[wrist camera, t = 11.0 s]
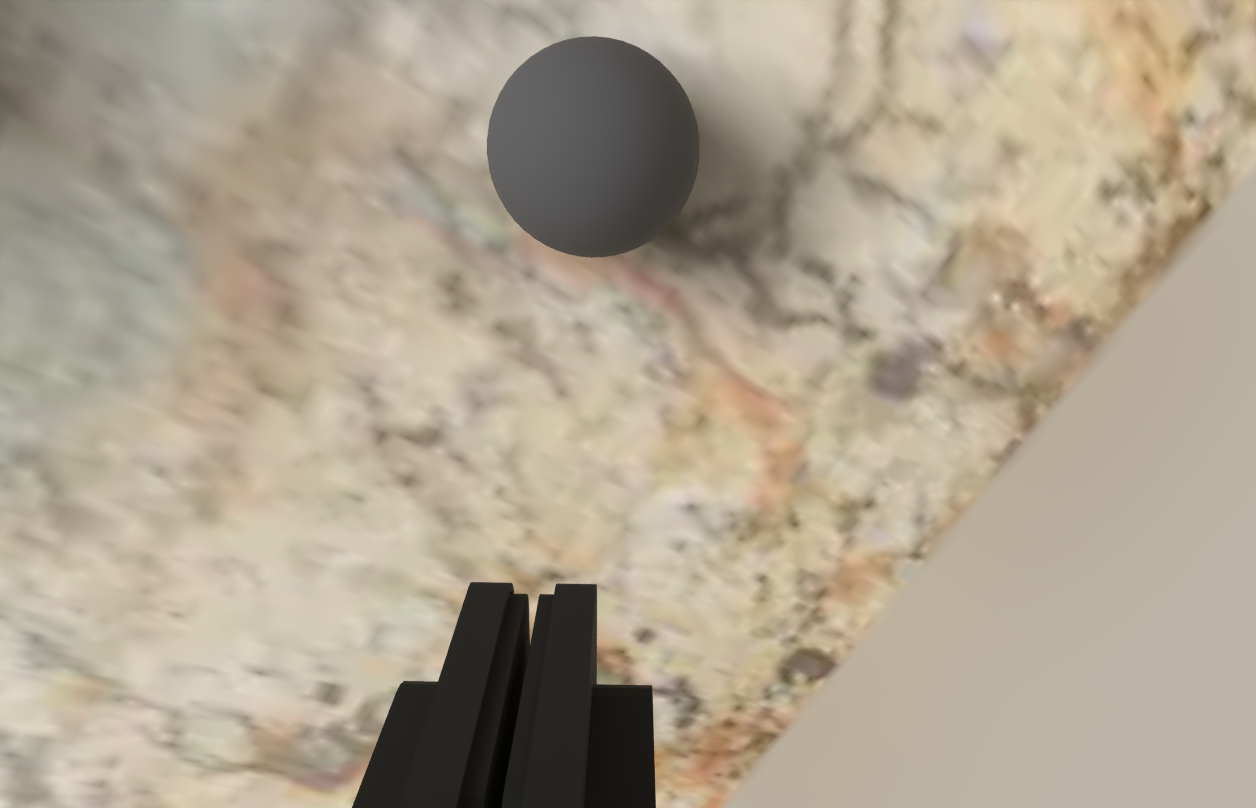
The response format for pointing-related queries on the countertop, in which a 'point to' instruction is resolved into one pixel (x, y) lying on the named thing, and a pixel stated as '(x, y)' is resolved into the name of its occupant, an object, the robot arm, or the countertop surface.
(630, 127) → the dark gray ball
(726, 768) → the countertop surface
